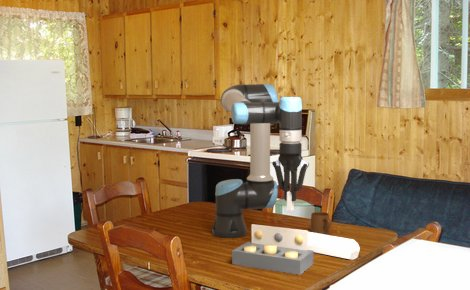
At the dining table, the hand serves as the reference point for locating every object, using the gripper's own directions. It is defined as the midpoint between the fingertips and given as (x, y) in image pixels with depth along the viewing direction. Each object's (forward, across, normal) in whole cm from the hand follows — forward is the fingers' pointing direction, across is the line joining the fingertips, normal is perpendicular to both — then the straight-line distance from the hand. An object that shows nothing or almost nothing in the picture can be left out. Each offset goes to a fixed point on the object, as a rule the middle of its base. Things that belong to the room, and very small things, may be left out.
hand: (290, 210), depth 186 cm
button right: (+19, +1, -1) cm, 19 cm away
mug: (+21, -3, +44) cm, 49 cm away
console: (+21, -7, +1) cm, 22 cm away
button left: (+19, -15, -1) cm, 24 cm away
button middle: (+18, -7, -1) cm, 19 cm away
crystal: (+21, +7, +23) cm, 32 cm away
